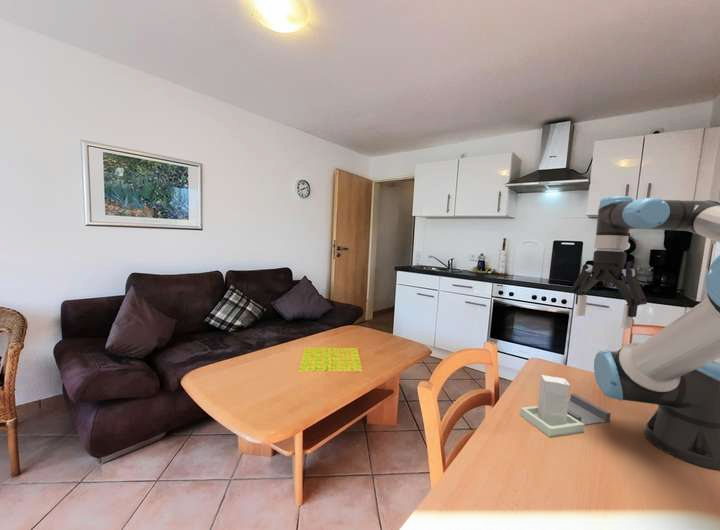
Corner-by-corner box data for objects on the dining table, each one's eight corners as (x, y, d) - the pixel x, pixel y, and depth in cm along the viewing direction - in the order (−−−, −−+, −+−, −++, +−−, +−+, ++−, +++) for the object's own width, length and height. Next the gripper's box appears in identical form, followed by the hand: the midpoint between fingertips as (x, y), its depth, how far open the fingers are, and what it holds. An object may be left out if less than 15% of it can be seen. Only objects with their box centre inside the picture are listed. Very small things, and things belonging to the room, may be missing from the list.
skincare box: (560, 419, 85) (565, 378, 84) (566, 428, 81) (570, 385, 80) (536, 414, 87) (540, 374, 86) (540, 423, 83) (544, 380, 82)
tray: (583, 432, 81) (584, 424, 81) (549, 437, 78) (550, 429, 78) (551, 411, 90) (551, 404, 90) (520, 415, 88) (520, 407, 87)
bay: (609, 421, 86) (610, 413, 86) (576, 426, 83) (577, 417, 83) (573, 401, 97) (574, 393, 97) (542, 404, 94) (543, 396, 94)
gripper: (671, 253, 79) (660, 333, 81) (580, 249, 103) (573, 311, 105) (650, 252, 77) (639, 334, 79) (562, 248, 101) (555, 311, 103)
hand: (601, 321), depth 92 cm, fingers open, 13 cm apart
